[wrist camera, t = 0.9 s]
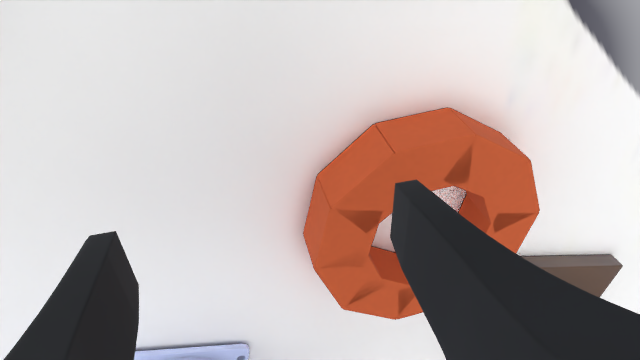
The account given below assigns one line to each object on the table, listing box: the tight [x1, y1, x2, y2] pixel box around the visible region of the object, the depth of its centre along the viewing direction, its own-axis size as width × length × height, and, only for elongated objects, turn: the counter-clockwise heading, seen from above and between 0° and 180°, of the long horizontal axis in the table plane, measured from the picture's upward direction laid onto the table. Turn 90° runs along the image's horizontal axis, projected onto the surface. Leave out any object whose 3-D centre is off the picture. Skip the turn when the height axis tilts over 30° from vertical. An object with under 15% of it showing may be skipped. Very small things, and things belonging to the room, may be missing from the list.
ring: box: [303, 108, 540, 320], centre depth 26 cm, size 13×12×3 cm
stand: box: [522, 255, 623, 298], centre depth 34 cm, size 10×10×5 cm
